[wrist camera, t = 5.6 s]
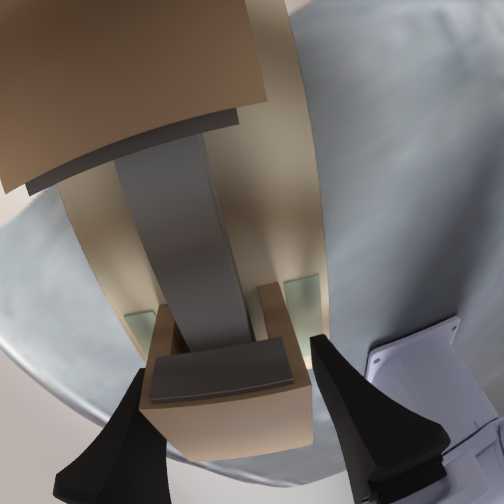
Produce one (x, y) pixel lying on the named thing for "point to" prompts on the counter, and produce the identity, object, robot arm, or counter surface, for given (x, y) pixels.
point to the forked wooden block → (229, 389)
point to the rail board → (246, 187)
